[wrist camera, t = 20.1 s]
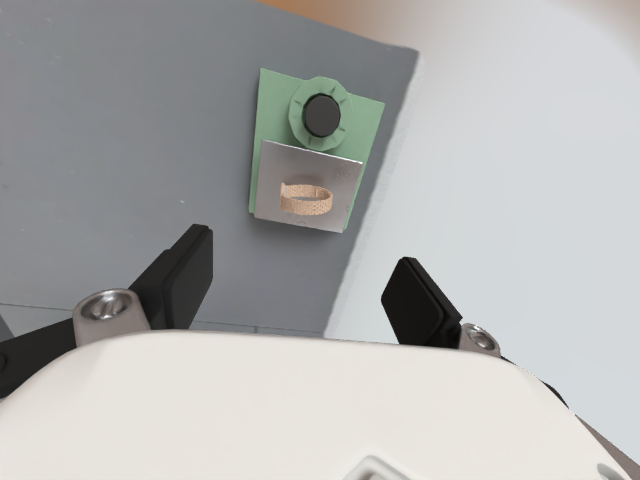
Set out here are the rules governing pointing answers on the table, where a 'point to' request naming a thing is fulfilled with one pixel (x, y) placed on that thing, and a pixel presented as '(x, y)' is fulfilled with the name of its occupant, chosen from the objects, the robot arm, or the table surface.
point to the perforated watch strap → (305, 206)
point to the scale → (290, 126)
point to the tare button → (322, 115)
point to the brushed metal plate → (304, 183)
